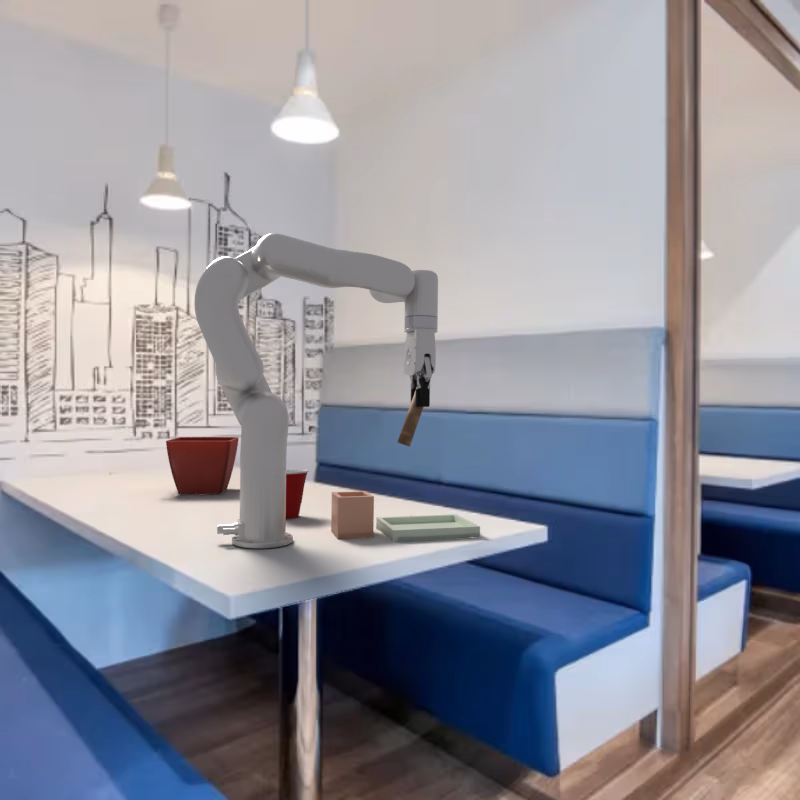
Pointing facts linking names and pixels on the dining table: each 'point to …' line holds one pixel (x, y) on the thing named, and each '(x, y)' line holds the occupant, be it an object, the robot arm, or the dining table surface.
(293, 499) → the plastic cup
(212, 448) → the plant pot
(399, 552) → the dining table surface
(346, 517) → the pink square bin
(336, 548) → the dining table surface
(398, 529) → the tray
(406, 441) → the dowel
